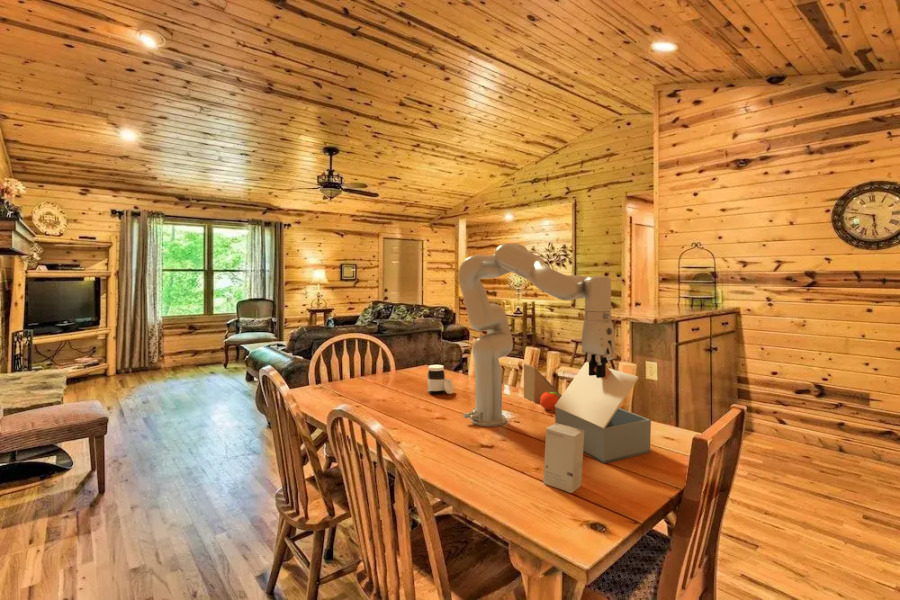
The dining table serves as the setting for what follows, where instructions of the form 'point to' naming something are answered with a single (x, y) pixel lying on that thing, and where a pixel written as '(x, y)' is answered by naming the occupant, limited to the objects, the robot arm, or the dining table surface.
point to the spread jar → (438, 380)
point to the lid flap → (596, 395)
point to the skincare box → (563, 457)
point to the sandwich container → (536, 384)
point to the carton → (611, 435)
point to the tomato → (548, 400)
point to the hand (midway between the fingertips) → (597, 375)
